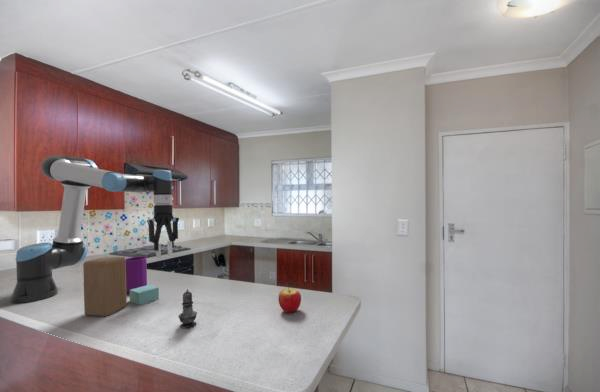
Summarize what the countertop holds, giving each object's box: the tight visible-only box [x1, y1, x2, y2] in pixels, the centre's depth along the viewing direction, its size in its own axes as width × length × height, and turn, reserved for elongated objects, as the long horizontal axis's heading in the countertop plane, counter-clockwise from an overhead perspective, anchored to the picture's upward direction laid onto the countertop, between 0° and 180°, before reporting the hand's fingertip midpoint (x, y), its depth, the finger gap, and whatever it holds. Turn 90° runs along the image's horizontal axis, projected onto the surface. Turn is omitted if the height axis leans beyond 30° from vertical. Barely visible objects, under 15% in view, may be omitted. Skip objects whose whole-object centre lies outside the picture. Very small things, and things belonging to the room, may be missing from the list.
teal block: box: [129, 284, 160, 306], centre depth 120 cm, size 8×8×5 cm
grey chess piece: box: [177, 289, 198, 330], centre depth 94 cm, size 6×6×12 cm
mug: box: [125, 256, 148, 294], centre depth 134 cm, size 9×16×15 cm, turn 68°
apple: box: [278, 282, 302, 313], centre depth 104 cm, size 8×8×10 cm
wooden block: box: [82, 256, 128, 317], centre depth 108 cm, size 10×10×20 cm
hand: (164, 256), depth 127 cm, fingers open, 4 cm apart
